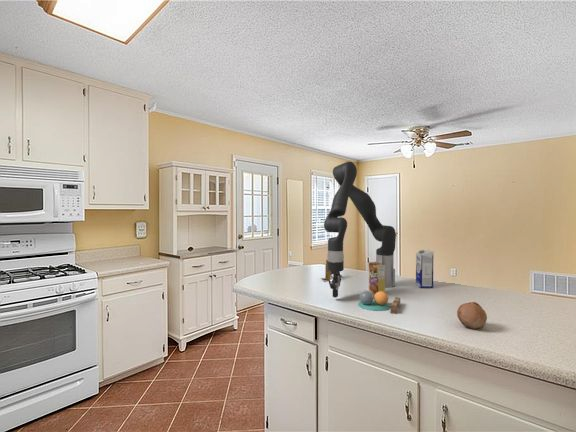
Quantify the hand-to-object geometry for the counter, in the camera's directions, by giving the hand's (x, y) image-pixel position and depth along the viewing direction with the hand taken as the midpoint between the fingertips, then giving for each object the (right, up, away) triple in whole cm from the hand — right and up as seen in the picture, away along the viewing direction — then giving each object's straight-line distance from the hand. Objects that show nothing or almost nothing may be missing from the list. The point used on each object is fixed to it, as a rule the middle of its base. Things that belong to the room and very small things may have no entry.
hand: (335, 297), depth 150 cm
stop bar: (+24, -2, -12) cm, 27 cm away
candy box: (+23, -1, +12) cm, 26 cm away
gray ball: (+13, +1, -7) cm, 15 cm away
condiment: (+2, -1, +41) cm, 41 cm away
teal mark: (+16, -2, -8) cm, 18 cm away
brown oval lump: (+45, -3, -33) cm, 56 cm away
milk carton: (+52, -1, +25) cm, 58 cm away
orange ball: (+19, +1, -7) cm, 21 cm away
